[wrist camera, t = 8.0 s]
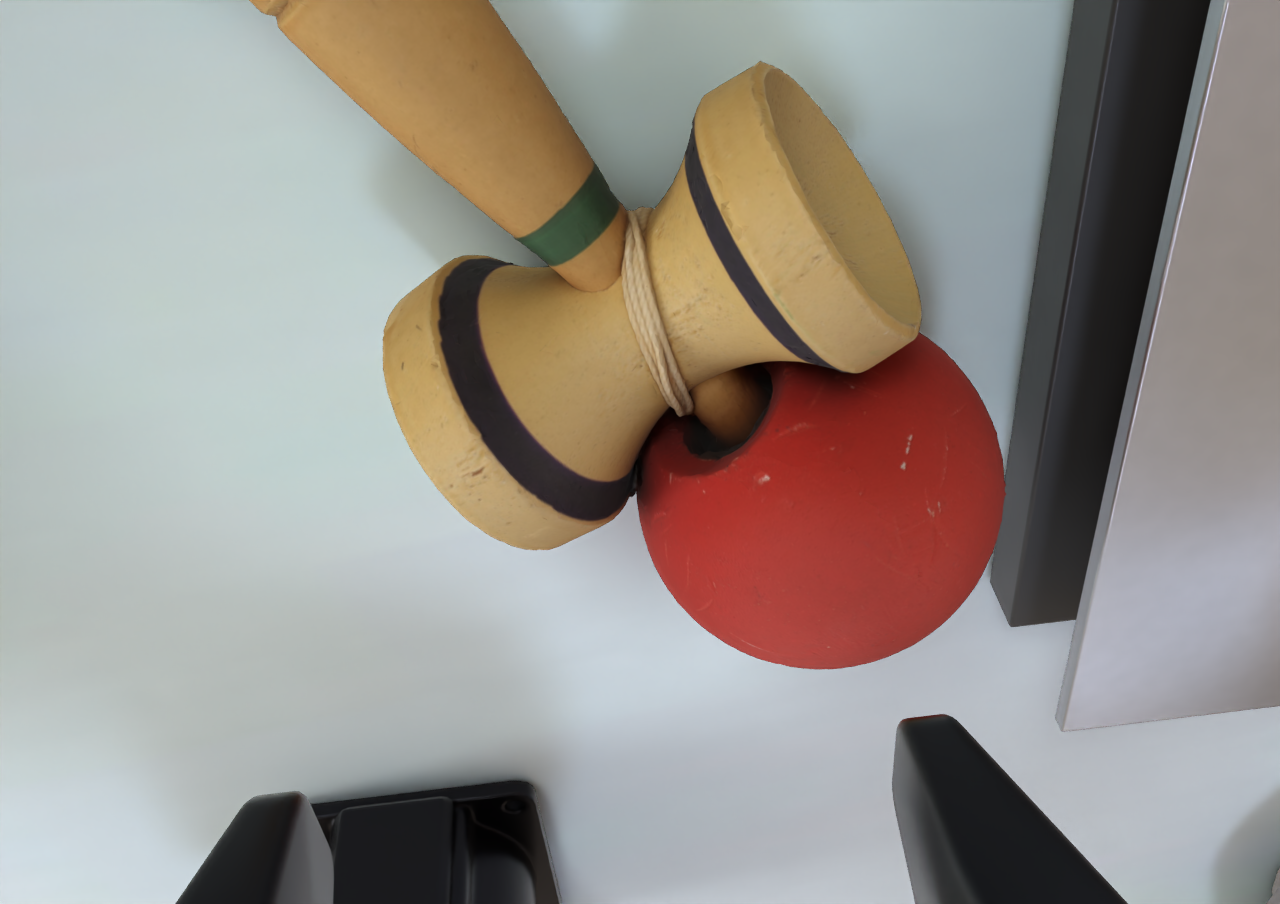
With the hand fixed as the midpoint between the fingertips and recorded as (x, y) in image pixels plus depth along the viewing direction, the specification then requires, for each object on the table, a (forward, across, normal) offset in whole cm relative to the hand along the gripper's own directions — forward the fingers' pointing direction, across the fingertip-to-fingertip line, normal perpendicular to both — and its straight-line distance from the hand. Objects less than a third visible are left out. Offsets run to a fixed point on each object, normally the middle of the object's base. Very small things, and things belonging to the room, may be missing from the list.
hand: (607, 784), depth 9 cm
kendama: (+12, 0, 0) cm, 12 cm away
